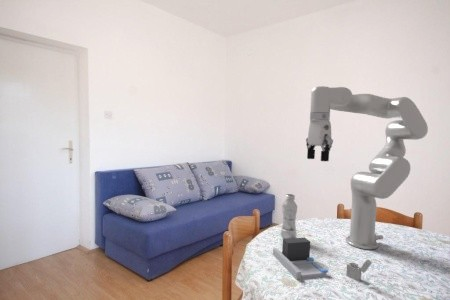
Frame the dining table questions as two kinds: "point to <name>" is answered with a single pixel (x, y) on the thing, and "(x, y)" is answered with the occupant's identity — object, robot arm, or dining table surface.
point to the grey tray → (300, 267)
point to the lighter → (357, 270)
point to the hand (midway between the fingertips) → (317, 159)
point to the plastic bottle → (289, 217)
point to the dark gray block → (296, 249)
